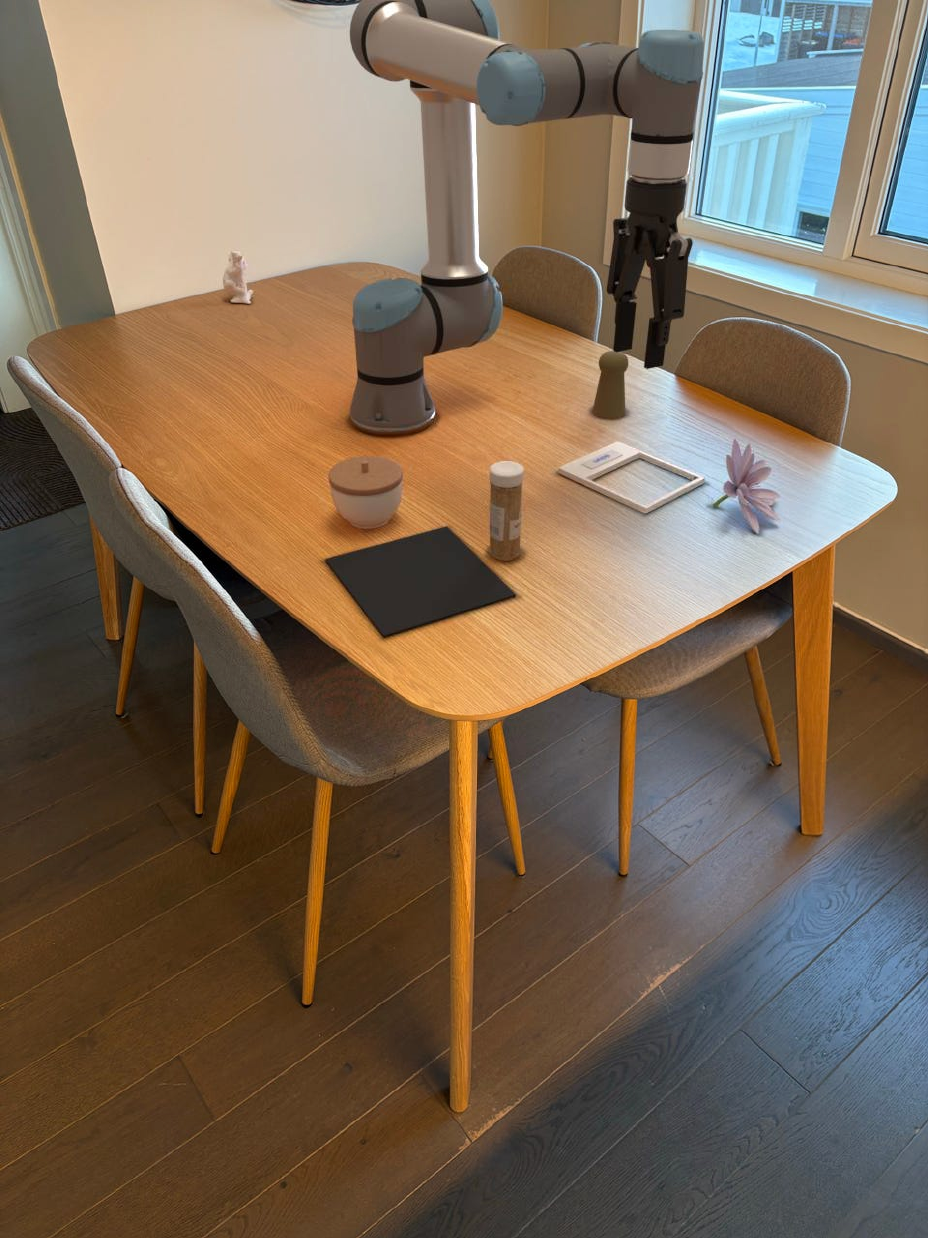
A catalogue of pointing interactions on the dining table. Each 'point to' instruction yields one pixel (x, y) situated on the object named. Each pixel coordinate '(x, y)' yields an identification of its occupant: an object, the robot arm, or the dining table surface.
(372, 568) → the mat
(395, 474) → the trinket box
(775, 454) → the dining table surface
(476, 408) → the dining table surface
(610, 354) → the brown game pawn
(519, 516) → the sprinkles bottle
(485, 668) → the dining table surface
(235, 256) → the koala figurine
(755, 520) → the water lily
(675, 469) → the photo frame
